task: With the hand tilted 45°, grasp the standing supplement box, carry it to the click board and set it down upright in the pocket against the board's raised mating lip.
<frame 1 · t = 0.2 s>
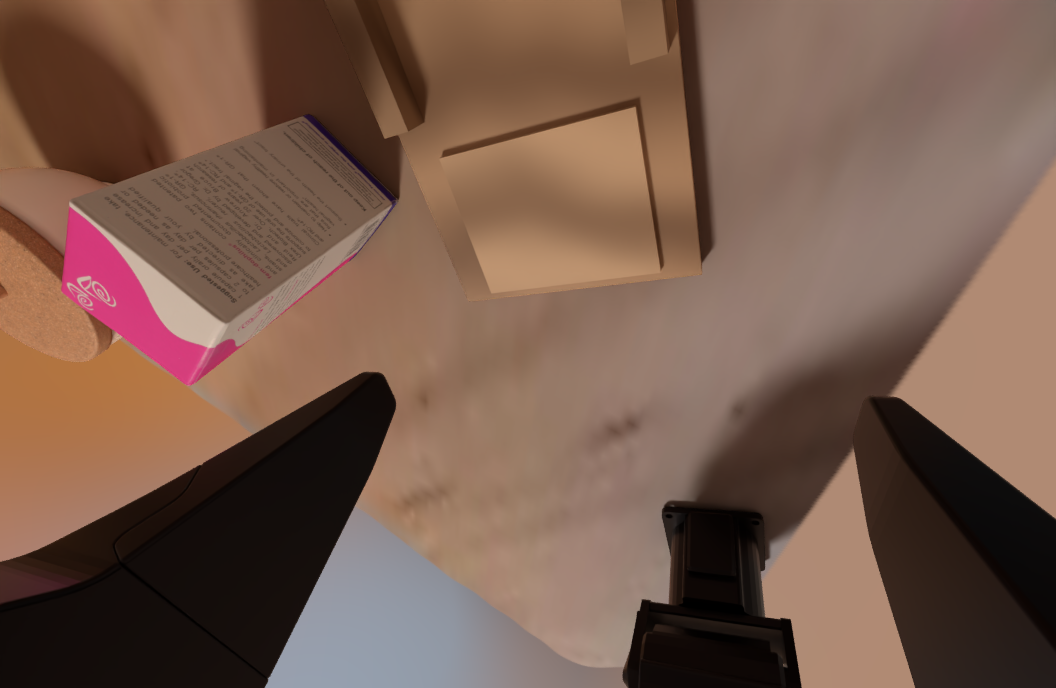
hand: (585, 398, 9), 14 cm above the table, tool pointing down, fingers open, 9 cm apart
supplement box: (333, 190, 25), on the table
click board: (526, 88, 19), on the table
lidded jar: (134, 225, 31), on the table
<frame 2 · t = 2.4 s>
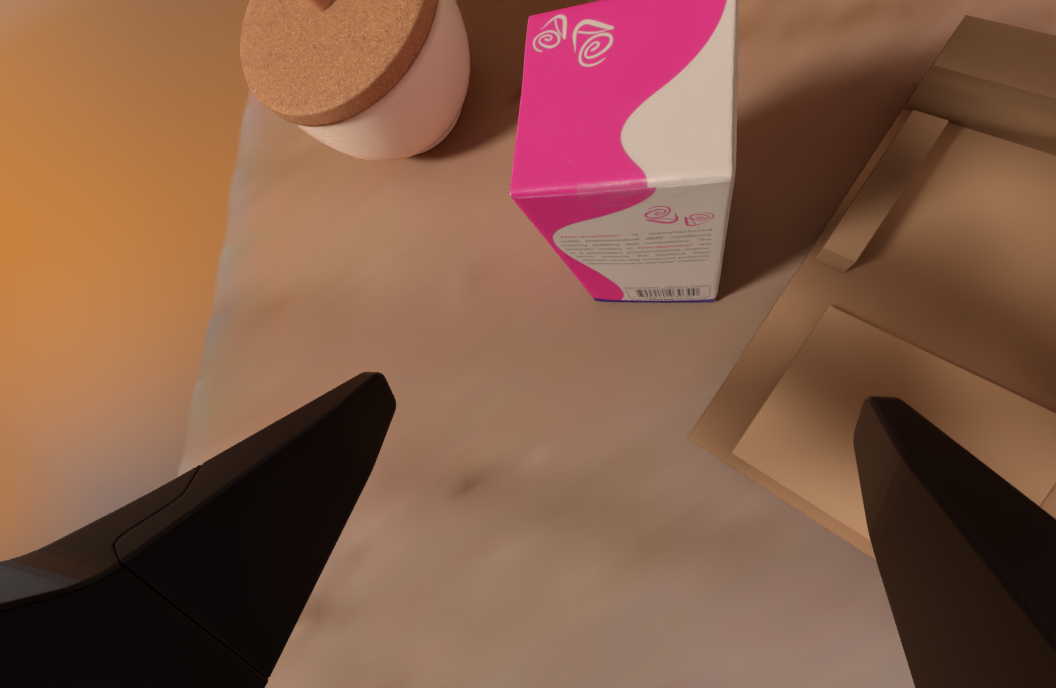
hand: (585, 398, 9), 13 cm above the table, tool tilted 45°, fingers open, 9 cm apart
supplement box: (654, 245, 23), on the table
click board: (954, 333, 18), on the table
lidded jar: (420, 110, 29), on the table
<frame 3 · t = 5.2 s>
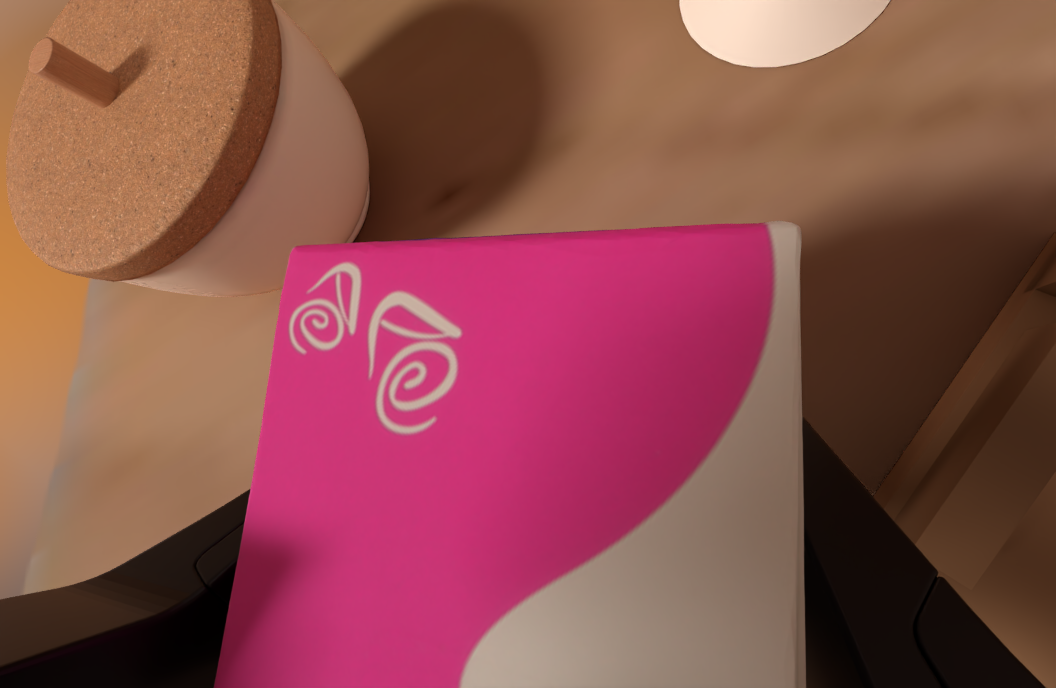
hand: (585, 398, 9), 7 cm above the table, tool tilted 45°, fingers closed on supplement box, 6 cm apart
supplement box: (628, 449, 15), on the table, touching gripper
lidded jar: (317, 208, 21), on the table
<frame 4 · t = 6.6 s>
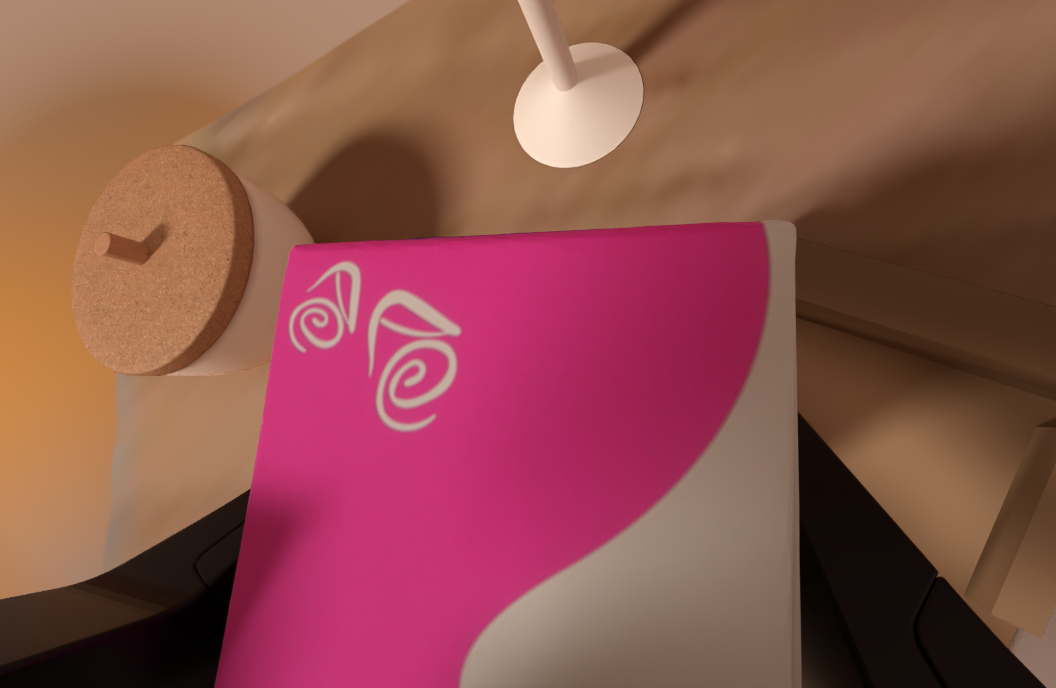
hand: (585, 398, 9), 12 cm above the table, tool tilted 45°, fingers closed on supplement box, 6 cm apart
supplement box: (626, 447, 15), point 5 cm above the table, touching gripper
champagne flute: (576, 107, 24), on the table
click board: (808, 520, 18), on the table
lidded jar: (288, 296, 28), on the table
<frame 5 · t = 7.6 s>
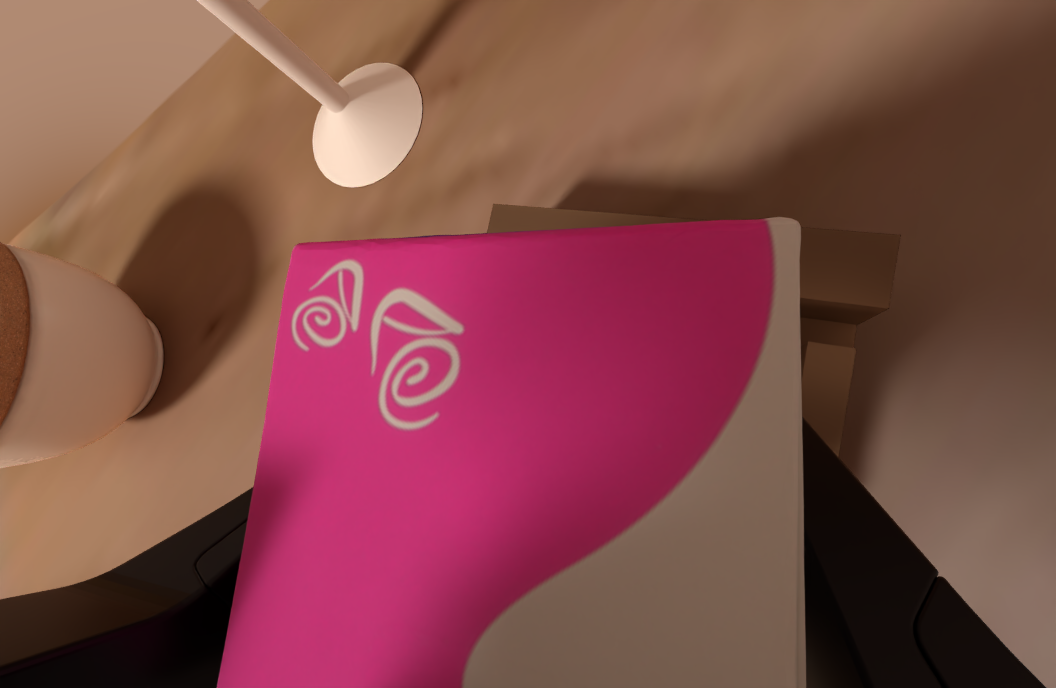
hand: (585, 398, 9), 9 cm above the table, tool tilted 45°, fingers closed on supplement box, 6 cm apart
supplement box: (628, 447, 15), point 2 cm above the table, touching gripper
champagne flute: (367, 126, 24), on the table
click board: (625, 489, 17), on the table
lidded jar: (131, 366, 27), on the table
when the fingers open (8 cm above the table, at t = 8.2 s): supplement box stays where it is, resting on click board.
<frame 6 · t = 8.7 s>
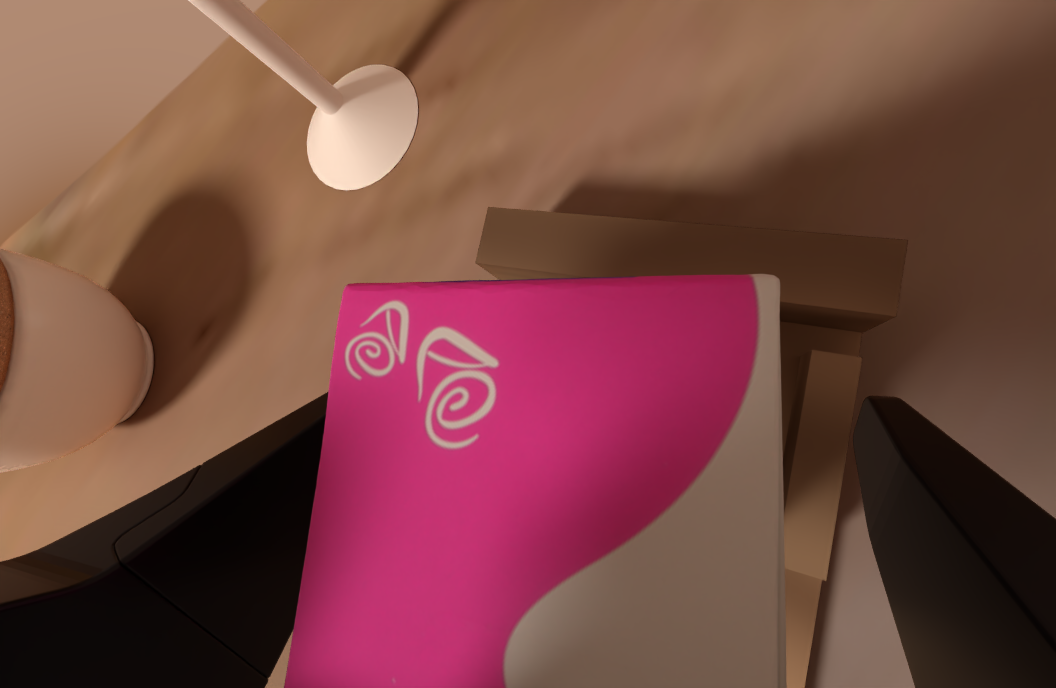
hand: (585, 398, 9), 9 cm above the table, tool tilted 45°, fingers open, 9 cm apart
supplement box: (632, 452, 16), point 1 cm above the table, touching click board
champagne flute: (362, 128, 23), on the table
click board: (623, 501, 17), on the table
lidded jar: (121, 371, 27), on the table
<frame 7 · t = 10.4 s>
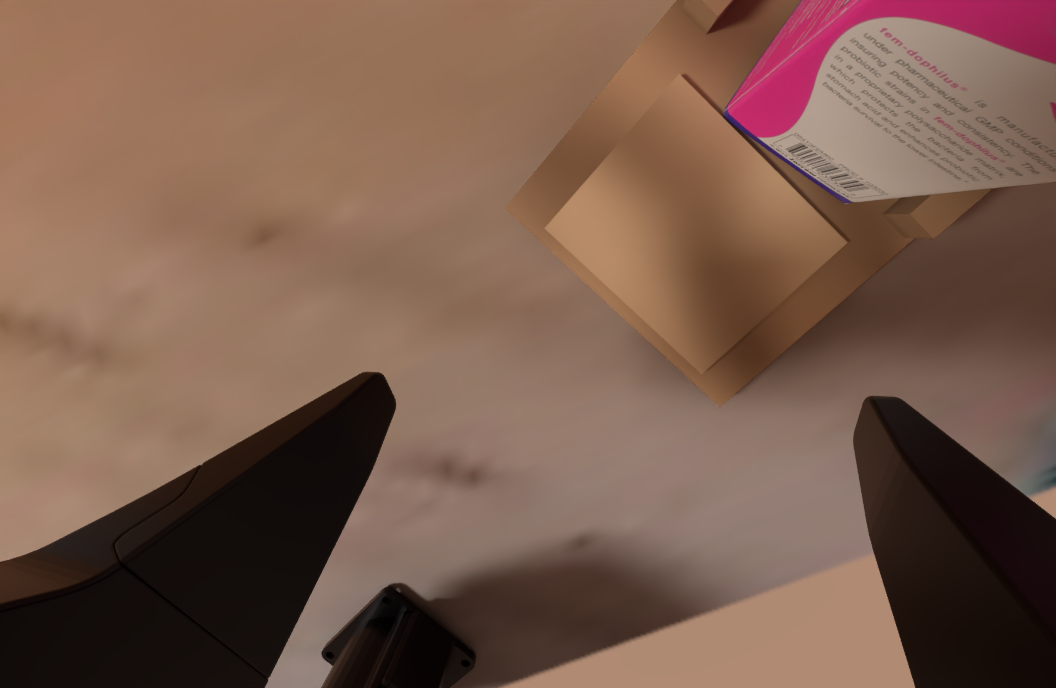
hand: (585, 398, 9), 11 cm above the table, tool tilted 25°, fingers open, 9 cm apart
supplement box: (837, 86, 16), point 1 cm above the table, touching click board
click board: (784, 131, 17), on the table
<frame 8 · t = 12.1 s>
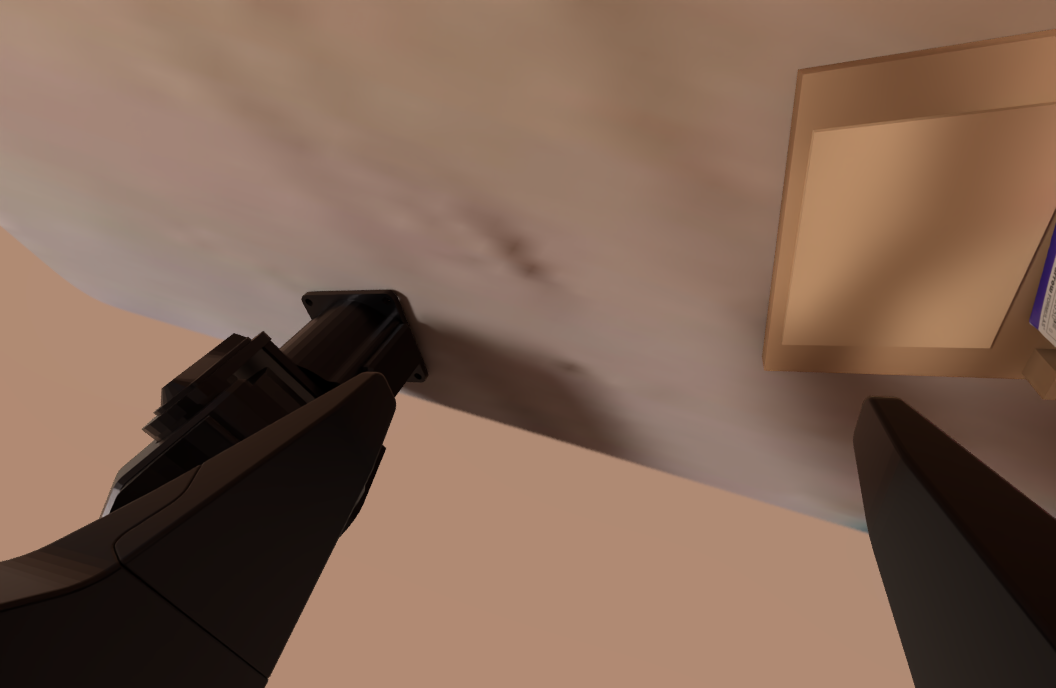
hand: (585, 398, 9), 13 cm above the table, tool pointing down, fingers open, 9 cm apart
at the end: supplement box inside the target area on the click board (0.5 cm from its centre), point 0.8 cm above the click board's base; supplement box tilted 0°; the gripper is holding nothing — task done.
